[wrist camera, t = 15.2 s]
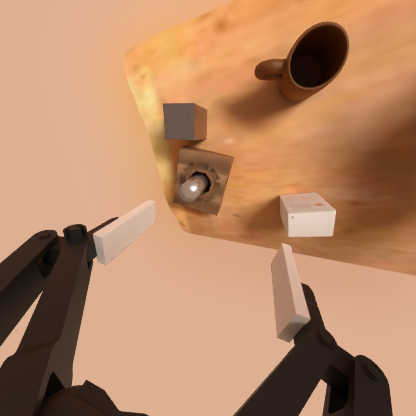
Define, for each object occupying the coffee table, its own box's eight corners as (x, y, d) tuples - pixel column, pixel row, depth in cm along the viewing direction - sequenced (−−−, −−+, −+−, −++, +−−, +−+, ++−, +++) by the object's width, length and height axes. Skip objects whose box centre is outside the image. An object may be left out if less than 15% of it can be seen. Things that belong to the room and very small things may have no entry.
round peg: (198, 168, 42) (179, 180, 32) (213, 172, 42) (198, 186, 31) (196, 183, 44) (177, 199, 34) (210, 186, 44) (195, 204, 33)
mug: (252, 105, 34) (252, 96, 25) (256, 58, 31) (257, 31, 22) (317, 101, 31) (340, 89, 23) (328, 48, 28) (360, 13, 19)
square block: (182, 109, 38) (162, 103, 30) (207, 109, 36) (193, 103, 28) (183, 137, 40) (165, 139, 32) (206, 138, 39) (194, 140, 31)
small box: (279, 214, 42) (286, 238, 33) (279, 194, 40) (286, 213, 31) (315, 213, 40) (333, 237, 30) (316, 191, 37) (337, 210, 28)
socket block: (187, 145, 41) (179, 147, 36) (233, 157, 39) (231, 160, 34) (180, 195, 47) (173, 202, 43) (220, 207, 45) (216, 215, 41)
